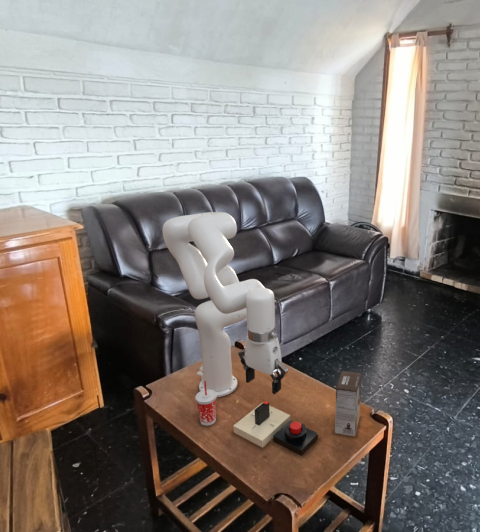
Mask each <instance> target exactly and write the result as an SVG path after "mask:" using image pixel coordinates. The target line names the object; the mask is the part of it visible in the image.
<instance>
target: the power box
mask: <svg viewBox="0 0 480 532" xmlns="http://www.w3.org/2000/svg"><path fill="white" fill-rule="evenodd" d="M292 422H294V421H293V420H291V419H290V421H289V422H288V423H287V424H286V425H284V426H283V427H282V428H281V429H280V430H279V431H278V432H277V433H276V434H275V435H274V436H273V438H272V441H273V443H274V444H277V445H279V446H281V447H283V448H284V449H286V450H289V451H290V452H292V453H294V454H296V455H298V456H300V457H303V456H304V455H305V454H306V453H307V452H308V451H309V449H310V448H311V447H313V445H314V444H315V443H316V442H317V441H318V440H319V432H316V431H314V430H312V429H310V428H308V427H307V426H306V425H305V424H304V423H302V422H300V421H298V422H299V423H301V432H300V433H299V434H292V433H291V432H290V424H291V423H292Z"/></svg>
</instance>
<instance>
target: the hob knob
mask: <svg viewBox="0 0 480 532" xmlns="http://www.w3.org/2000/svg"><path fill="white" fill-rule="evenodd" d="M261 403H262V402H261ZM261 403H260V404H261ZM260 404H259V405H260ZM259 405H258V406H259ZM269 406H270V402H269V401H267V400H264V401H263V403H262V404H261V405H260V406H259V407H257V406H256V407H257V408H256V407H255V408H256V409H255V408H254V409H255V424H257V425H260V424H262V423H263V422H264V421H265V420H266V419H268V418H269V417H270V412H269Z"/></svg>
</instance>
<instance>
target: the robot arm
mask: <svg viewBox="0 0 480 532" xmlns="http://www.w3.org/2000/svg"><path fill="white" fill-rule="evenodd" d="M237 232H238V226H237V223H236V220H235V218H234V217H233V216H232V215H231V214H230V213H228V212H224V211H223V212H221V211H220V212H219V211H218V212H217V211H208V212H201V213H200V212H199V213H194V214H187V215H179V216H175V217H172V218H170V219H168V220H166V221H165V222H164V223H163V226H162V238H163V241H164V244H165V246H166V248H167V250H168V251H169V253H170V254H171V255H172V257H173V259H174V260H175V261H176V263H177V265H178V266H179V270H180V271H181V274H182V276H183V279H184V282H185V285H186V287H187V290H188V292H189V293H190V295H191V297H192V298H194V299H195V300H203V299H210V300H206V301H204V302H202V303H200V304H199V305H197V306H196V308H195V310H194V312H193V313H194V315H193V316H194V321H195V324H196V327H197V332H198V338H199V347H200V355H201V356H200V359H201V366H200V367H199V371H197V373H196V376H199V377H201V380H200V382H199V383H198V390H199V392H200V391H202V390H205V386H204V381H206V390H214V391H215V392H216V394H217V398H222V397H225V396H228V395H230V394H232V393H233V392H234V391H235V390H236V389H237V388H238V379H237V378H236V376H234V375H233V368H232V367H233V366H232V350H231V349H232V348H231V347H232V346H231V338H230V336H229V335H228V334H227V333H226V331H224V329H225V328H227V327H229V326H233V325H235V324H238V323H240V322H243V321H245V320H246V329H247V330H246V332H247V335H246V337H245V341H244V343H245V344H244V349H243V350H240V351H239V352H237V355H238V357H239V359H240V360H239V361H240V363H241V364H242V368H243V370H244V372H245V383H247V384H249V383H250V382H252V381H253V380H255V378H256V371H258V372H260V373H263V374H266V375H269V376H270V377H271V379H272V381H271V393H272V395H276V394H277V393H278V392H280V391H281V390H282V380H283V379H284V378H285V377H286V376H287V374H288V372H289V368H288V367H287V366H286V365H284V364H283V362H282V351H281V345H280V341H279V338H278V337H279V334H278V333H276V306H275V304H276V303H275V300H276V299H275V294H274V292H273V290H271V289H269V288H267V287H265V286H264V285H263V284H262V282H261V281H259V280H258V279H255V278H250V279H246V280H242V281H240V280H239V278H238V276H237V274H236V271H235V270H234V269H233V268H232V266H230V265H229V264H230V263H231V261H232V260H233V259H234V256H235V250H234V248H233V247H232V245H231V244H230V242H229V241H228V240H229V239H230V240H231V239H232V238H234V237H236V235H237ZM190 242H193V243H194V245H193V244H191V243H190ZM276 375H277V376H276Z"/></svg>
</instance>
